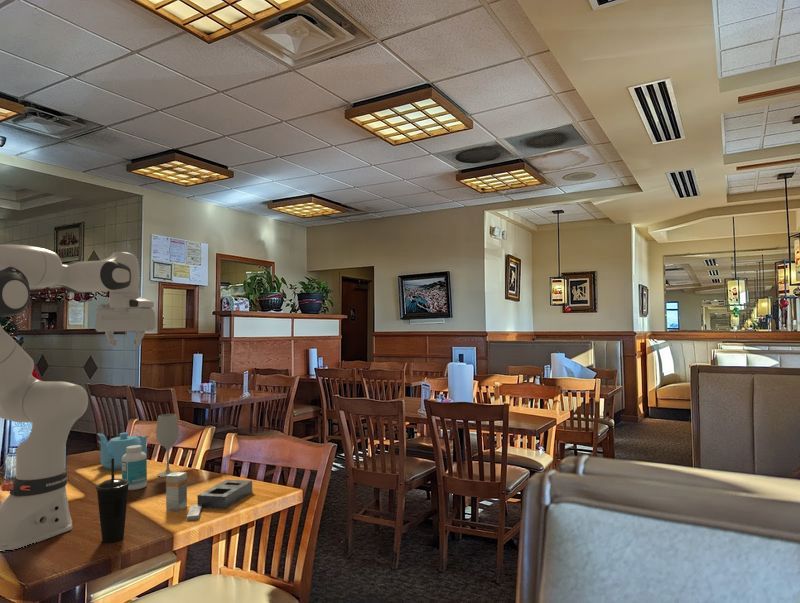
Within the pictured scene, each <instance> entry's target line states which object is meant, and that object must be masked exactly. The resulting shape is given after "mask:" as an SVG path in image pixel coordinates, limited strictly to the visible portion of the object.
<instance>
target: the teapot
mask: <svg viewBox="0 0 800 603" xmlns="http://www.w3.org/2000/svg"><path fill="white" fill-rule="evenodd" d="M97 436H99V438H100V440H97V442H98V443H99V445H100V453H99V457H100V465H102V467H103V468H104V469H105V470H111V459H114V471H115V470H117V471H119V470H122V456H123V455H125V454H126V453H127V452H126V447H128V446H133V445H141V446H142V450H141V452H144V453H145V454H146V459H147V458H148V456H147V454H148V448H147V440H148V438H149V436H150V435H146V436H142V435H140V434H138V435H129V432H120V433H119V436H116V437H112V438H110V439H109V441H108V440H107V437H106V436H105V434H103V433H99V432H98V433H97Z"/></svg>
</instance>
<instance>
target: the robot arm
mask: <svg viewBox="0 0 800 603" xmlns="http://www.w3.org/2000/svg"><path fill="white" fill-rule="evenodd" d="M139 264H140V262H139V259H138V257H137V256H136V255H135V254H133V253H131V252H127V251H125V252H124V251H114V252H112V253H111V254H110V256H109V257H106V258H104V259H102V260H89V261H87V260H86V261H83V260H82V261H81V260H80V261H79V260H75V261H74V260H73V261H70V262H68V263H65V264H63V262H62V260H61V257H60V256H59V255H58V253H56V252H54V251H52V250H49V249H47V248H43V247H41V246H40V247H39V246H33V245H27V244H11V243H10V244H0V318H6V317H11V316H15V315H17V314H20V313H22V312H23V311H24V310H25V309H26V308H27V306H28V305H29V302H30V298H31V289H41V288H50V287H53V286H59V287H62V288H64V289H66V290H68V291H69V292H71V293H73V294H85V293H95V292H96V293H98V292H99V293H100V292H109V298H108V299H109V303H104V302H103V303H100V304H99V305H98V306H97V308H96V314H95V315H96V316H95V321H94V322H95V323H94V330H95V331H96V332H99V333H100V332H101V333H102V332H105V333H104V334H105V335H104V336H105V337H106V339H107V341H108V346H109V347H115V346H117V339H114V337H113V335H115V334H114V332H136V335H137V337H136V339H134V340H133V345H134V346H142V340H143V338H144V336H145V335H146V334H145V332H151V331H154V330H155V328H156V313H155V312H156V311H154V309H153V308H154V306H155V302H154V301H152V300H149V299H146V298H144V297H141V296H140V295H141V292H140V288H139V284H140V280H141V278H140V277H141V276H140V275H141V273H140V266H139ZM34 368H35V362H34V359H33V358H32V357H31V356H30V355H29V354H28V353H27V351H26V350H25V349H23V348H22V346H21V345H20V344H19V343H18V342H17V341H16V340H15V339H14V338H13V337H12V336H11V335H10V334H9V333H8V332H6V330H4V328H3V327H2V324H1V323H0V418H1V419H4V420H6V421H10V422H13V423H28V424H29V423H31V431H30V433H29V435H28V436H27V439H25V440H24V441H22V442H20V443H19V445H17V447H16V451H15V477H14V479H13V482H12V483H11V482H9V483H7V482H3V483H2V484H1V485H0V490H1V492H9V495H8V496H7V498H5V499H4V500H3V502H2V503H1V504H0V550H12V549H18V548H21V547H23V548H25V547H24V546H26V547H28V546H27V545H29V544H31V545H33V544H32V543H34V544H36V542H37V543H39V542H43V541H45V540H47V539H49V538H53V537H56V536H58V535H60V534H63V533H66V532H69V531H72V530H73V519H72V517H71V512H70V506H69V501H68V495H67V489H66V485H67V484H68V473H67V472H68V471H67V469H66V446H67V441H68V436H69V435H70V431H71V429H72V427H73V426H74V424H75V423H76V422H77V421H78V420H79V419H80V418H81V417H83V415H84V414H85V412H86V411H87V409H88V405H89V395H88V393H87V391H86V389H85V388H84V387H83V386H82V385H80V384H76V383H71V382H68V381H54V380H53V381H46V380H45V381H44V380H40V379H39V378H38V379H37V378H36V377H34V376H33V373H34V372H33V371H34ZM29 546H30V545H29ZM21 549H22V548H21ZM18 550H19V549H18Z"/></svg>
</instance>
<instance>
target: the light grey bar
mask: <svg viewBox="0 0 800 603" xmlns="http://www.w3.org/2000/svg"><path fill="white" fill-rule="evenodd" d="M188 510H189V511H188V513H187V515H186V521H187V522H189V521H197V520H198V519H200V517H201V513H202V510H203V508H202V504H198V503H197V504H191V505H190V507H189V509H188ZM198 521H199V520H198Z"/></svg>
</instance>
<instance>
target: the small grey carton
mask: <svg viewBox="0 0 800 603" xmlns="http://www.w3.org/2000/svg"><path fill="white" fill-rule="evenodd" d="M187 474H188V472H187V471H186V472H185V471H178V472H173V473H171V474H169V475H166V477H165V494H166V496H165V499H166V500H165V501H166V502H165V506H166V508H165V509H166V510H165V511H166V512H167V511H168V512H180V511H182V510H184V509H186V508H187V507H188V489H187V488H188V487H187V486H188V475H187Z"/></svg>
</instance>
